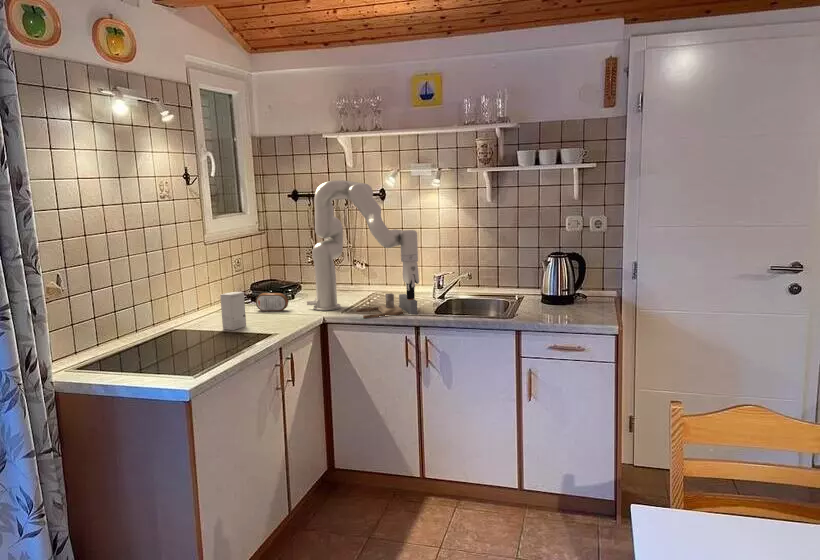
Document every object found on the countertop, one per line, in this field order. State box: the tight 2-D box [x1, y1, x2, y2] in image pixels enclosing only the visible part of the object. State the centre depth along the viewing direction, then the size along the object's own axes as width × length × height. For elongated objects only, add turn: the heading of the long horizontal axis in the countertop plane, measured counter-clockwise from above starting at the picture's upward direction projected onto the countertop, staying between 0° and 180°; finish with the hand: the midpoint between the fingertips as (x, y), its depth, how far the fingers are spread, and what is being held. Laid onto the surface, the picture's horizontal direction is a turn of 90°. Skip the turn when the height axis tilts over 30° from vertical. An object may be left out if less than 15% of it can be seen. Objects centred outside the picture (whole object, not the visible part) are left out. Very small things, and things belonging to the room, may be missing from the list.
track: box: [355, 306, 404, 319], centre depth 284 cm, size 18×15×1 cm
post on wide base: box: [377, 293, 403, 314], centre depth 285 cm, size 8×11×8 cm
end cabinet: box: [398, 293, 418, 315], centre depth 288 cm, size 3×18×6 cm, turn 17°
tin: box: [255, 292, 289, 312], centre depth 295 cm, size 15×3×8 cm, turn 84°
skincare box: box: [219, 291, 247, 331], centre depth 263 cm, size 8×6×15 cm
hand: (410, 298), depth 284 cm, fingers closed
